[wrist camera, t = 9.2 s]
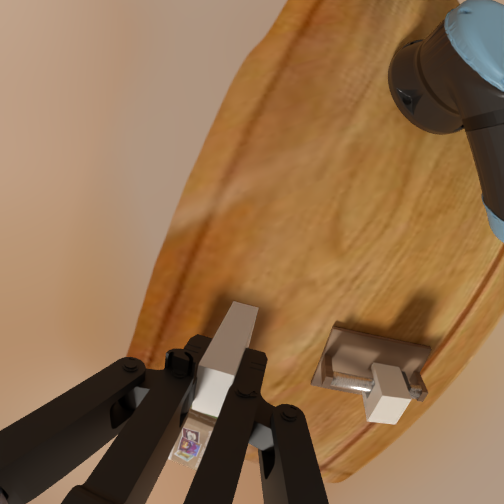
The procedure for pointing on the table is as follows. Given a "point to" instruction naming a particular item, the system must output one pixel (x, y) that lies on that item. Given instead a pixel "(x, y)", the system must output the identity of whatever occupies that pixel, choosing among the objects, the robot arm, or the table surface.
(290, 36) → the table surface
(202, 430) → the tea box
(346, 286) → the table surface
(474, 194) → the table surface
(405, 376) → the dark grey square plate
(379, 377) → the sleeve
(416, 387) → the pipe
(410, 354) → the board
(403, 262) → the table surface
